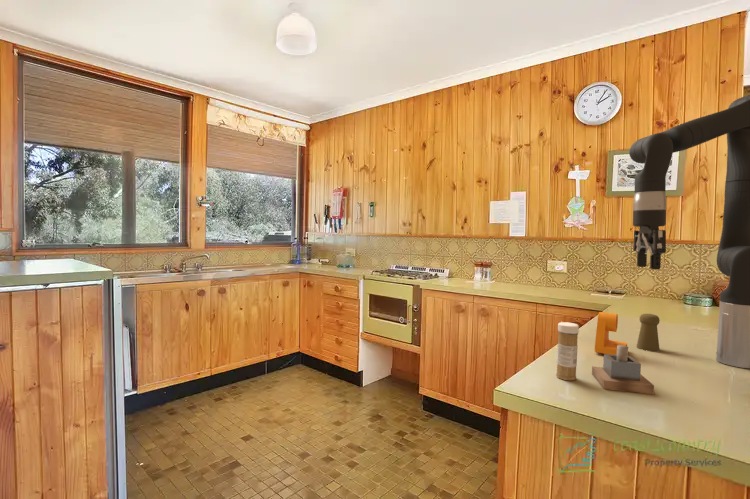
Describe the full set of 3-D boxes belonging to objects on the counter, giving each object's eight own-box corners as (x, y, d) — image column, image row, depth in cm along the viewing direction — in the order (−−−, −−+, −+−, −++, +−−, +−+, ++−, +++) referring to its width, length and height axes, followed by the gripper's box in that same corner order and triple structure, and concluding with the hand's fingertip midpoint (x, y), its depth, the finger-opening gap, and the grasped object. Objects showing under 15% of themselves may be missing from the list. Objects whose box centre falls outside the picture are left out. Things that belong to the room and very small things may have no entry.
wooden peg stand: (636, 378, 99) (638, 342, 98) (653, 394, 89) (655, 354, 89) (591, 374, 101) (593, 339, 101) (603, 388, 92) (605, 350, 91)
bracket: (622, 359, 114) (625, 318, 114) (594, 354, 119) (596, 314, 118) (627, 351, 123) (629, 312, 122) (600, 346, 127) (602, 309, 127)
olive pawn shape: (658, 348, 127) (660, 313, 127) (660, 352, 122) (662, 317, 122) (636, 344, 130) (638, 311, 130) (636, 349, 125) (638, 314, 125)
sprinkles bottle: (564, 373, 101) (566, 321, 101) (580, 379, 97) (583, 325, 96) (551, 376, 99) (554, 322, 99) (567, 382, 95) (570, 326, 94)
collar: (630, 372, 97) (631, 356, 97) (640, 381, 91) (641, 363, 91) (603, 369, 99) (603, 353, 99) (610, 378, 93) (611, 361, 93)
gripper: (678, 207, 102) (676, 270, 102) (653, 210, 116) (652, 266, 116) (645, 207, 104) (643, 270, 104) (624, 210, 117) (623, 265, 118)
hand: (648, 268), depth 110 cm, fingers open, 8 cm apart
